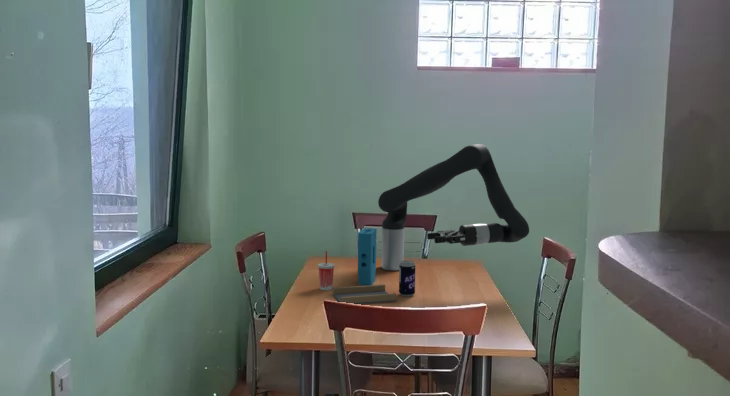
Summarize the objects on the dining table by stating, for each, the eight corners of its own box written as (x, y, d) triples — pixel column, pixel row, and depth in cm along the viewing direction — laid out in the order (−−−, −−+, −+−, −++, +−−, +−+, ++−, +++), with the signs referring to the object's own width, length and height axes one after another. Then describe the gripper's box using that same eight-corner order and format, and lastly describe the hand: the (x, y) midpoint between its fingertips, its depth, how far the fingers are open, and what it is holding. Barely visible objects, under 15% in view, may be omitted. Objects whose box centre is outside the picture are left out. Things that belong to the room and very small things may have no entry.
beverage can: (404, 297, 212) (404, 264, 211) (395, 293, 217) (396, 260, 216) (417, 296, 215) (418, 262, 214) (409, 292, 220) (410, 259, 219)
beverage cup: (327, 285, 228) (327, 248, 226) (337, 288, 223) (338, 251, 222) (314, 288, 223) (314, 250, 222) (325, 291, 219) (325, 253, 218)
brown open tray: (332, 294, 215) (332, 287, 215) (384, 291, 220) (384, 284, 220) (341, 305, 202) (341, 297, 202) (396, 301, 208) (396, 294, 207)
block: (370, 286, 227) (370, 233, 224) (357, 286, 228) (357, 233, 225) (376, 279, 238) (376, 228, 236) (363, 278, 239) (364, 228, 237)
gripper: (466, 221, 226) (424, 225, 223) (481, 226, 212) (436, 230, 209) (467, 241, 227) (425, 245, 224) (482, 248, 213) (437, 252, 210)
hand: (431, 238), depth 216 cm, fingers open, 8 cm apart
